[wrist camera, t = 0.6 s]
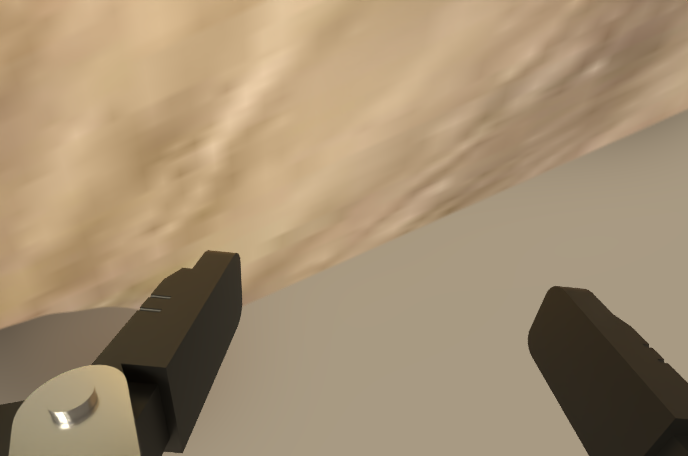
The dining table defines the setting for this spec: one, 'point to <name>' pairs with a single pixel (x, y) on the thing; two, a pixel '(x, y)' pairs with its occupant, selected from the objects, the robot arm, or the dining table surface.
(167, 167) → the dining table surface
